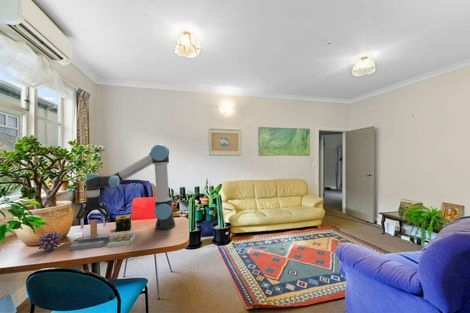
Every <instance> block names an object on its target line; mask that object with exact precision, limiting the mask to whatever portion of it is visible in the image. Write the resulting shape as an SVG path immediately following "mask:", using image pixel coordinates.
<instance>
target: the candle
mask: <svg viewBox="0 0 470 313" xmlns="http://www.w3.org/2000/svg"><path fill="white" fill-rule="evenodd" d="M131 216H132V214H123V215H116V217H115V233H121V232H128V231H131V230H132V221H131V220H132V218H131Z"/></svg>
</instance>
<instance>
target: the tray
mask: <svg viewBox="0 0 470 313" xmlns="http://www.w3.org/2000/svg"><path fill="white" fill-rule="evenodd" d="M121 234H122V233H118V234H117V233H116V234H115V233H114V237H115V236H116V235H121ZM124 234H130V239H129V241H122V242H114V241H112V242H111V243H108V244H107V248H112V247H113V248H114V247H119V246H120V247H121V246H122V247H123V246H128V245H132V244H133V241H134V240H135V239H136V238H135V237H136V236H137V235H136V234H137V233H136V232H125V233H124Z"/></svg>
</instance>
